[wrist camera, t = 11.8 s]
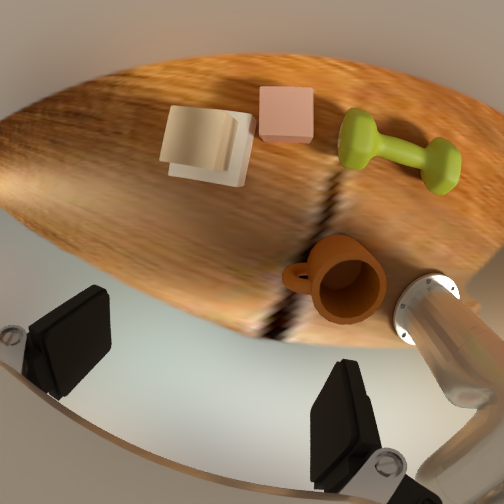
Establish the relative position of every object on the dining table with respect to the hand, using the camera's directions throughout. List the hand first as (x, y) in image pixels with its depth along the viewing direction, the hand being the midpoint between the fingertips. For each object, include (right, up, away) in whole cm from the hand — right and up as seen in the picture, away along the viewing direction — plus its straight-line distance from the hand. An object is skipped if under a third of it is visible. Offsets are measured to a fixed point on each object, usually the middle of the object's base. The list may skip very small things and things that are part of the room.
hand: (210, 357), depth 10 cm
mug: (+12, +2, +27) cm, 30 cm away
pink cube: (+6, +21, +23) cm, 32 cm away
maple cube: (-4, +17, +21) cm, 27 cm away
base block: (-3, +18, +25) cm, 31 cm away
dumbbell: (+21, +17, +22) cm, 35 cm away
